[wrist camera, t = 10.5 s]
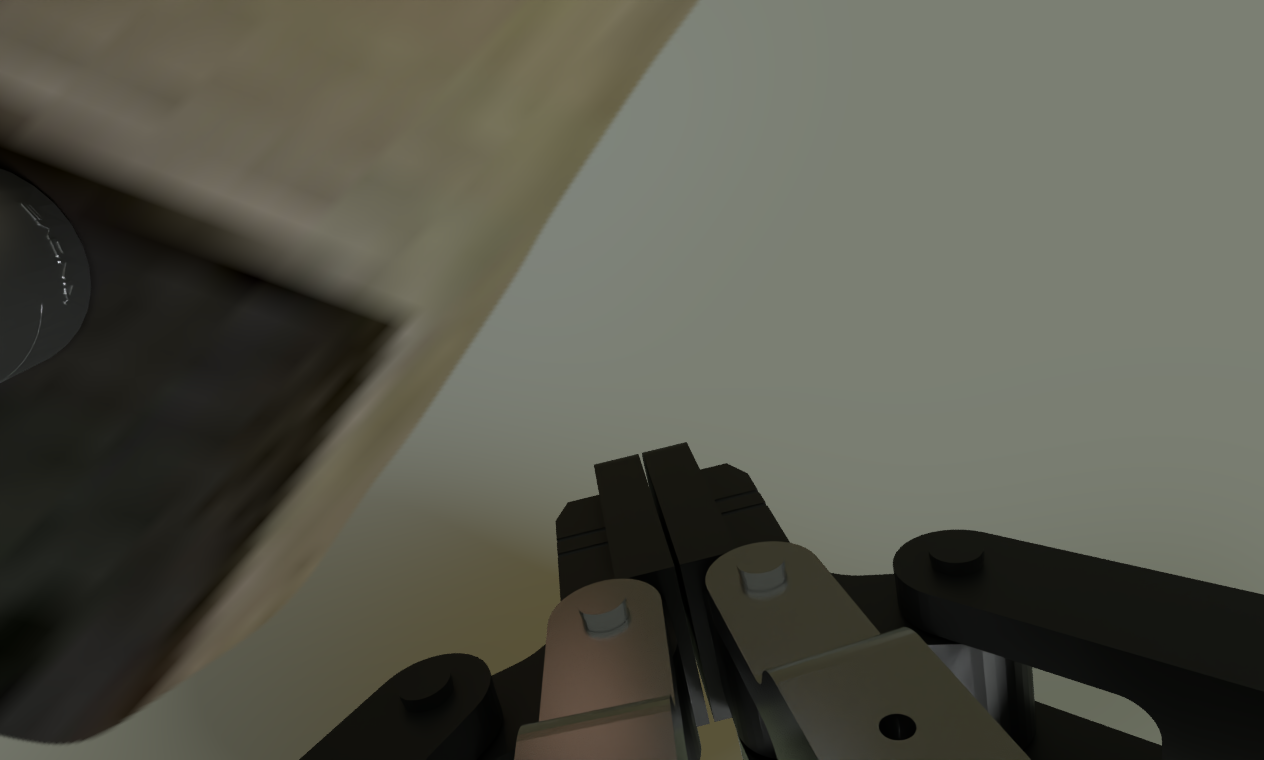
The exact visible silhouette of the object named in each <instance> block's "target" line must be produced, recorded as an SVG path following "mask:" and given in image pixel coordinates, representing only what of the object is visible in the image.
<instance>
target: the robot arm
mask: <svg viewBox="0 0 1264 760" xmlns="http://www.w3.org/2000/svg"><path fill="white" fill-rule="evenodd" d="M90 293H91V282H90V269H89V264H88V261H87V258H86V255H85V251H84V248H83V245H82V243H81V241H80V239H79V237H78V236H77V234H76V232H75V230H74V228H73V226H72V225H71V223H70V222H69V221H68V219H67V218H66V217H65V216H64V214H63V213H62V212H61V211H60V210H59V208H58V207H57V206H56V205H55V203H53V202H52V201H51V200H50V199H49V198H48V197H46V196H45V195H44V194H43V193H42V192H41V191H39V190H38V189H37V188H36V187H35V186H33V185H31V184H30V183H28V182H26V181H25V180H23V179H21V178H20V177H18V176H16V175H15V174H13V173H11V172H8V171H6V170H3V169H0V383H1V382H3V381H5V380H7V379H9V378H11V377H13V376H15V375H17V374H19V373H21V372H23V371H25V370H27V369H29V368H31V367H33V366H35V365H37V364H39V363H41V362H43V361H45V360H47V359H49V358H51V357H52V356H53V355H55V354H56V353H57V352H59V351H60V350H61V349H62V348H64V347H65V346H66V345H67V344H68V343H69V342H70V341H71V339H72V338H73V337H74V335H75V334H76V333H77V331H78V330H79V329H80V327H81V325H82V322H83V320H84V318H85V315H86V313H87V311H88V305H89V299H90ZM642 457H643V461H644V466H645V471H646V476H647V479H646V476H645V473H644V470H643V467H642V464H641V461H640V458H639V455H638V454H636V455H632V456H628V457H624V458H620V459H616V460H611V461H607V462H603V463H599V464H595V465H594V468H595V474H596V479H597V485H598V490H599V495H596V496H593V497H588V498H584V499H580V500H576V501H572V502H568V503H567V505H566V506H565V508H564V509H563V511H562V512H561V514H560V515H559V517H558V518H557V520H556V535H557V551H558V567H559V582H560V597H561V602H560V603H559V604H558V605H557V606H556V607H555V609H554V610H553V611H552V613H551V615H550V617H549V620H548V627H547V638H546V644H545V645H544V646H543V647H542V648H540V649H539V650H538V651H537V652H535V653H534V654H532V655H531V656H530V657H528V658H526V659H525V660H523V661H521V662H519V663H517V664H515V665H513V666H511V667H509V668H507V669H505V670H503V671H501V672H499V673H496V674H495V675H492V676H491V673H490V670H489V668H488V666H487V665H486V664H485V662H484V661H483V660H481V659H479V658H478V657H475V656H472V655H469V654H461V653H453V654H444V655H439V656H435V657H431V658H428V659H425V660H422V661H420V662H417V663H415V664H413V665H411V666H409V667H407V668H406V669H404V670H402V671H400V672H399V673H398V674H396V675H395V676H393V677H392V678H391V679H389V680H388V681H387V682H386V683H385V684H383V685H382V686H381V687H380V688H379V689H378V690H377V691H376V692H374V693H373V694H372V695H371V696H370V697H369V698H368V699H367V700H365V701H364V702H363V703H362V704H361V705H360V706H359V707H358V708H357V709H355V710H354V711H353V712H352V713H351V714H350V715H349V716H348V717H346V718H345V719H344V720H343V721H342V722H341V723H340V724H339V725H338V726H336V727H335V728H334V729H333V730H332V731H331V732H330V733H329V734H327V735H326V736H325V737H324V738H323V739H322V740H321V741H320V742H319V743H317V744H316V745H315V746H314V747H313V748H312V749H311V750H309V751H308V752H307V753H306V754H305V755H304V756H303V757H302V758H300V759H299V760H700V757H701V744H700V739H699V734H698V730H697V727H698V726H702V725H706V724H709V718H708V714H707V710H706V705H705V701H704V696H703V692H702V687H701V683H700V678H699V674H698V669H699V672H700V675H701V679H702V682H703V685H704V689H705V692H706V695H707V698H708V701H709V705H710V708H711V711H712V715H713V718H714V721H715V722H716V721H720V720H723V719H727V718H731V717H732V718H733V721H734V724H735V727H736V730H737V734H738V739H739V743H740V748H741V753H742V758H743V760H1264V595H1263V594H1258V593H1254V592H1249V591H1245V590H1240V589H1236V588H1231V587H1227V586H1222V585H1218V584H1213V583H1209V582H1204V581H1200V580H1195V579H1191V578H1186V577H1182V576H1177V575H1173V574H1168V573H1164V572H1159V571H1155V570H1150V569H1146V568H1141V567H1137V566H1132V565H1128V564H1124V563H1119V562H1115V561H1110V560H1106V559H1101V558H1097V557H1092V556H1088V555H1083V554H1078V553H1074V552H1069V551H1065V550H1060V549H1055V548H1051V547H1047V546H1043V545H1038V544H1033V543H1029V542H1024V541H1019V540H1016V539H1011V538H1006V537H1002V536H998V535H993V534H988V533H984V532H978V531H971V530H943V531H937V532H931V533H928V534H924V535H921V536H919V537H916V538H914V539H912V540H910V541H909V542H907V543H905V544H904V545H903V546H902V547H900V549H899V550H898V551H897V552H896V554H895V556H894V559H893V569H894V574H884V575H864V576H851V575H840V574H834V573H830V572H829V571H828V570H827V568H826V567H825V566H824V565H823V564H822V562H821V561H820V560H819V559H818V558H817V556H816V555H815V554H813V553H812V552H811V551H810V550H808V549H806V548H804V547H802V546H800V545H796V544H793V543H790V542H789V540H788V539H787V537H786V535H785V534H784V532H783V530H782V529H781V527H780V526H779V524H778V522H777V521H776V519H775V517H774V516H773V514H772V512H771V511H770V509H769V508H768V506H766V504H765V501H764V499H763V498H762V496H761V494H760V493H759V492H758V490H757V488H756V486H755V485H754V483H753V482H752V480H751V478H750V477H749V475H748V474H747V473H745V472H743V471H741V470H739V469H737V468H735V467H733V466H731V465H728V464H727V463H726V464H722V465H718V466H714V467H709V468H705V469H701V470H700V469H699V467H698V465H697V463H696V461H695V459H694V456H693V454H692V452H691V450H690V448H689V446H688V444H687V442H685V443H681V444H676V445H673V446H668V447H665V448H660V449H656V450H652V451H648V452H644V453H642ZM647 480H648V482H647ZM648 484H649V486H648ZM695 659H696V660H695ZM696 662H697V665H696ZM697 666H698V669H697ZM1032 667H1034V668H1038V669H1040V670H1043V671H1046V672H1050V673H1053V674H1056V675H1059V676H1062V677H1065V678H1068V679H1071V680H1074V681H1078V682H1080V683H1083V684H1086V685H1090V686H1093V687H1096V688H1099V689H1102V690H1105V691H1108V692H1111V693H1114V694H1117V695H1120V696H1122V697H1125V698H1127V699H1129V700H1131V701H1133V702H1134V703H1136V704H1137V705H1139V706H1140V707H1141V708H1142V709H1144V710H1145V711H1146V712H1147V713H1148V714H1149V715H1150V716H1151V717H1152V719H1153V720H1154V721H1155V722H1156V724H1157V726H1158V728H1159V730H1160V733H1161V736H1162V746H1161V745H1159V744H1156V743H1153V742H1150V741H1147V740H1144V739H1142V738H1139V737H1136V736H1133V735H1130V734H1127V733H1124V732H1122V731H1119V730H1116V729H1113V728H1110V727H1107V726H1104V725H1102V724H1099V723H1096V722H1093V721H1090V720H1088V719H1085V718H1082V717H1079V716H1076V715H1073V714H1070V713H1068V712H1065V711H1062V710H1059V709H1056V708H1054V707H1051V706H1048V705H1045V704H1042V703H1039V702H1037V701H1034V687H1033V673H1032Z"/></svg>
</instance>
